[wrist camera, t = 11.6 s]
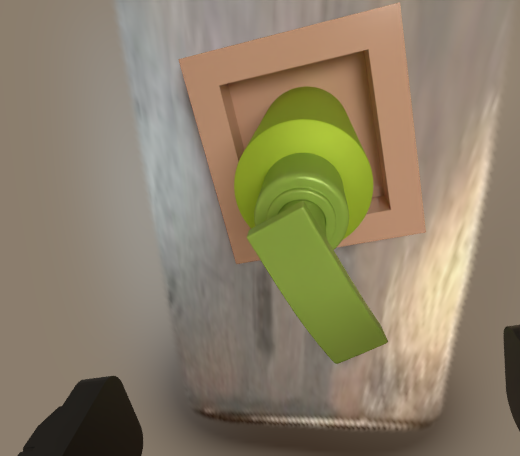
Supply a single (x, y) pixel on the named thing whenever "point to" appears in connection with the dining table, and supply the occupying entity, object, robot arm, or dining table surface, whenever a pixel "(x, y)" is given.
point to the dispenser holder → (331, 80)
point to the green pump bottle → (310, 214)
